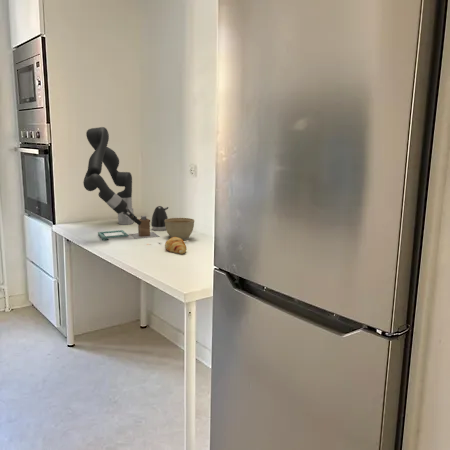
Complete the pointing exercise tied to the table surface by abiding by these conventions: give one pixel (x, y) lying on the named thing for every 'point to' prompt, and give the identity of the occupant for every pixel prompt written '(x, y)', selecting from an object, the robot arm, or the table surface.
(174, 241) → the croissant
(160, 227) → the black electric kettle
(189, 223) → the planter bowl
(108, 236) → the tray
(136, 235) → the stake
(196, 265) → the table surface
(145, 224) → the collar
